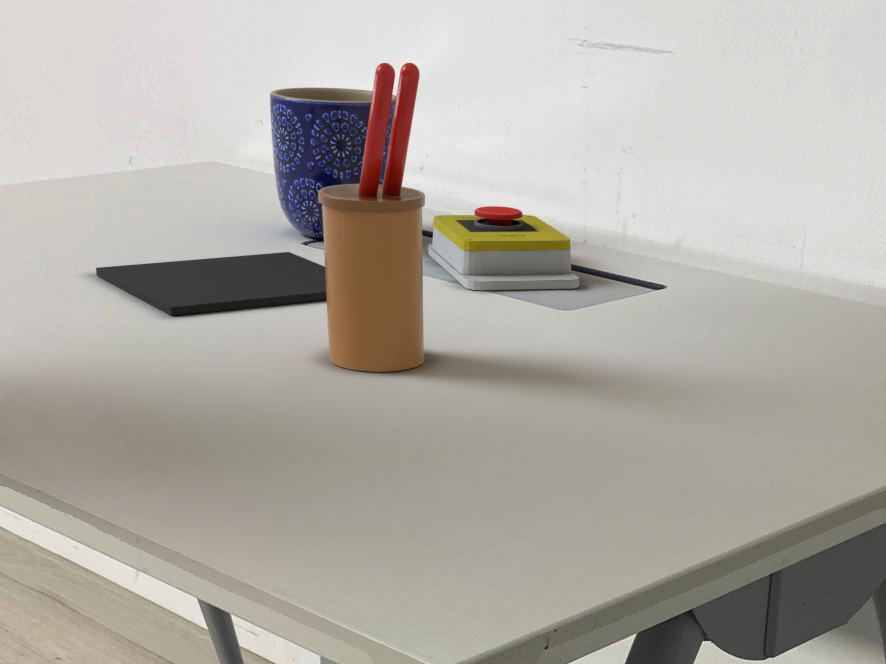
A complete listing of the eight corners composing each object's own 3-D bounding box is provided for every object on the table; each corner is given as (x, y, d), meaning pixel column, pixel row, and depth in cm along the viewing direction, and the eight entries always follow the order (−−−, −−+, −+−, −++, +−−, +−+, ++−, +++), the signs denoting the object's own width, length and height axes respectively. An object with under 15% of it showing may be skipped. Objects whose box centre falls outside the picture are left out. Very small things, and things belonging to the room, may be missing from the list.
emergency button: (531, 196, 122) (585, 229, 110) (529, 250, 125) (582, 288, 113) (424, 196, 120) (468, 230, 108) (425, 251, 122) (468, 290, 110)
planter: (255, 227, 127) (245, 88, 121) (361, 219, 133) (356, 86, 127) (318, 250, 120) (310, 103, 114) (426, 240, 126) (425, 100, 120)
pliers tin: (362, 380, 87) (351, 63, 78) (308, 353, 92) (291, 51, 83) (451, 368, 91) (450, 63, 82) (394, 342, 95) (388, 51, 86)
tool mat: (171, 316, 98) (170, 307, 98) (96, 275, 108) (95, 267, 107) (375, 294, 107) (375, 286, 107) (289, 259, 116) (289, 251, 116)
